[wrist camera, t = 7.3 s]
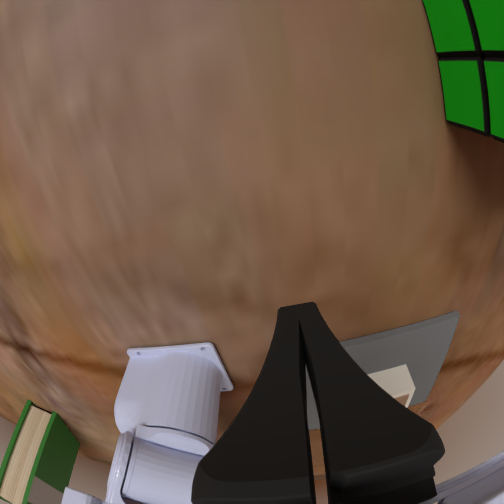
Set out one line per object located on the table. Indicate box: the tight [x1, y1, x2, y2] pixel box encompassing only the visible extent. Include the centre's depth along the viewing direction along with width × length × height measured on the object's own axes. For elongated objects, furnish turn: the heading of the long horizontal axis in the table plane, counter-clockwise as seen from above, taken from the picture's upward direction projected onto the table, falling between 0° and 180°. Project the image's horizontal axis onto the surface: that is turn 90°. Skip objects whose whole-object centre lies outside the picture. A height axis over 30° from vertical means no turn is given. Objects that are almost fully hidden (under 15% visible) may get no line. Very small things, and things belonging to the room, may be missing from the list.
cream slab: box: [367, 364, 416, 408], centre depth 29 cm, size 8×4×8 cm
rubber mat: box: [306, 311, 460, 430], centre depth 30 cm, size 20×18×1 cm
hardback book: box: [0, 400, 80, 504], centre depth 34 cm, size 18×7×24 cm, turn 168°
